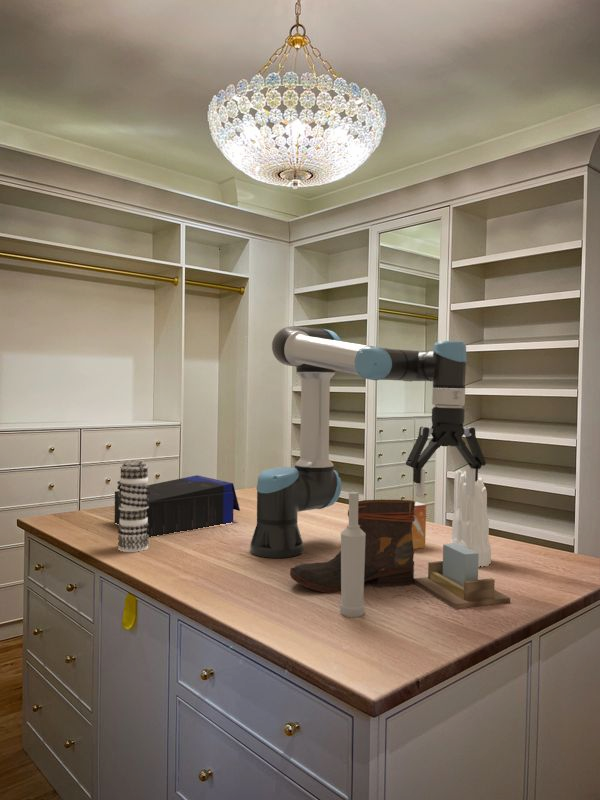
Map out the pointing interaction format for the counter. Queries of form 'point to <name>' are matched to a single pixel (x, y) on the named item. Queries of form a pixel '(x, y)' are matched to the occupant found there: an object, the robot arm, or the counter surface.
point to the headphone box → (187, 504)
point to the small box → (419, 526)
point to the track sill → (460, 589)
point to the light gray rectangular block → (459, 563)
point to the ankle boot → (372, 549)
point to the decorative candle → (133, 507)
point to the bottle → (352, 563)
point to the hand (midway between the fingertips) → (445, 496)
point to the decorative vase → (471, 519)
